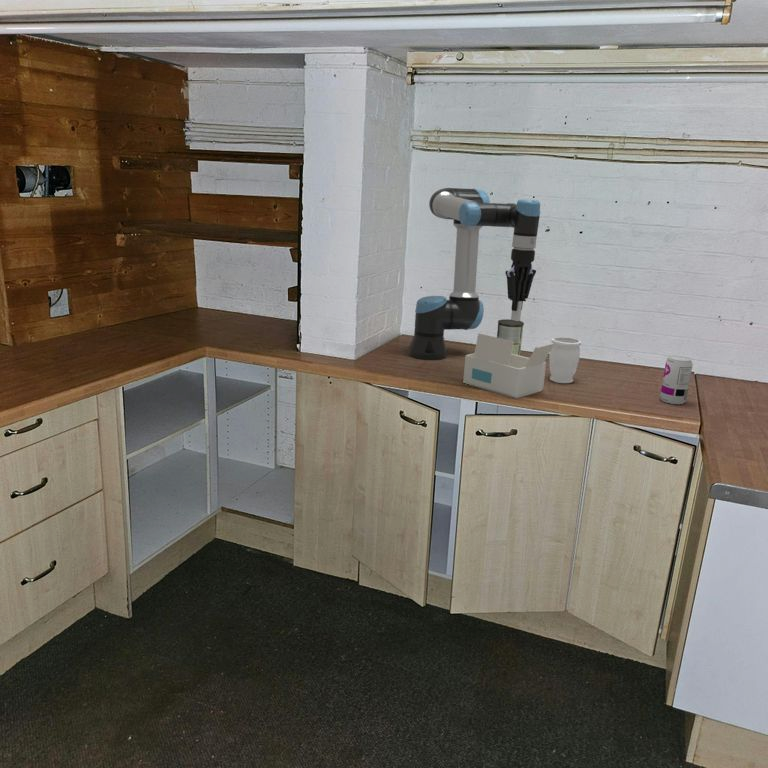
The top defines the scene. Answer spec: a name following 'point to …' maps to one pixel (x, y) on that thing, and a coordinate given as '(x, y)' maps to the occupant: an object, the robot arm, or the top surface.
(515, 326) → the coffee can
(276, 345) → the top surface
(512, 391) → the carton
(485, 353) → the front flap
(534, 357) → the end flap
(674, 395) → the supplement can
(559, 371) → the jar
